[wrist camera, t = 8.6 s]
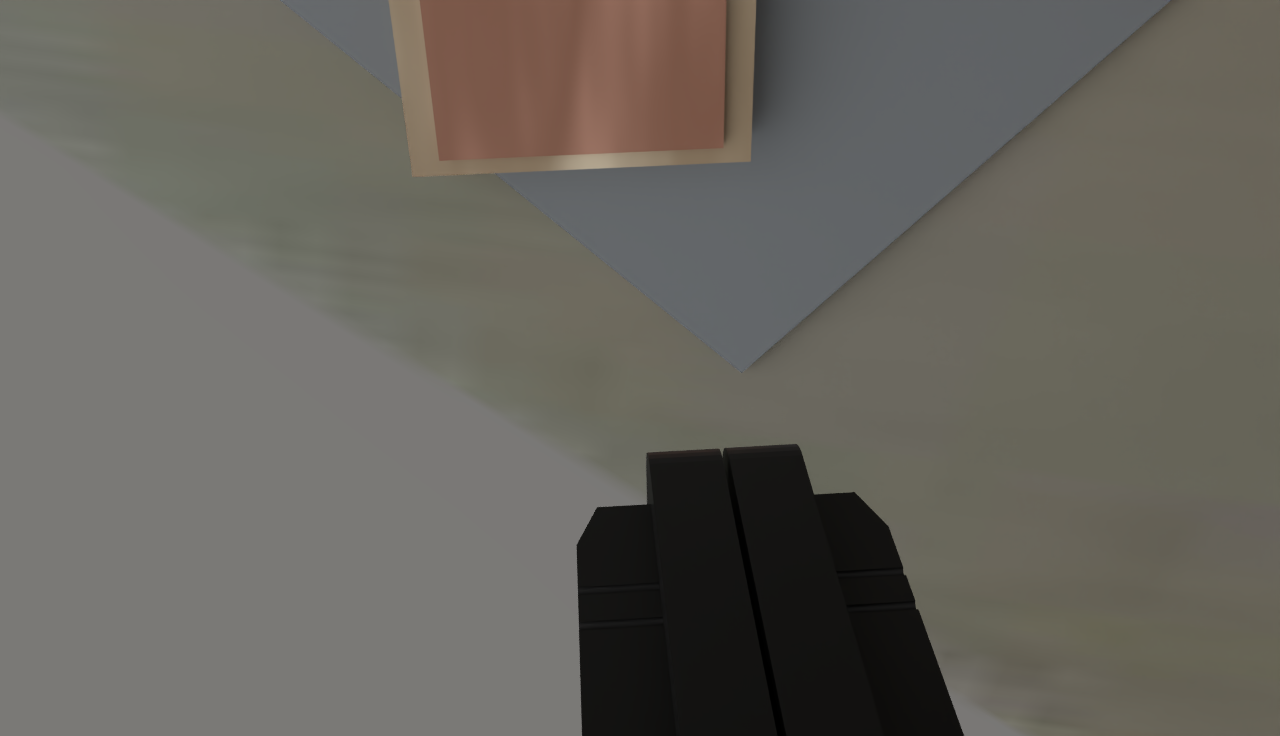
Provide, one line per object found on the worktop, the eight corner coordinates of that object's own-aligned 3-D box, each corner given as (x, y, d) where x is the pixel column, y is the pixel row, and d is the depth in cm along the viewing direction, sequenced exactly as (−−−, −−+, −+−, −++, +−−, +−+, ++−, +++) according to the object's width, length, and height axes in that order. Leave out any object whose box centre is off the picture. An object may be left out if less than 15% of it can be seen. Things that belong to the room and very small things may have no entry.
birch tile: (741, 135, 29) (418, 150, 29) (750, -170, 25) (378, -157, 25) (752, 166, 28) (411, 182, 27) (763, -154, 24) (367, -141, 24)
